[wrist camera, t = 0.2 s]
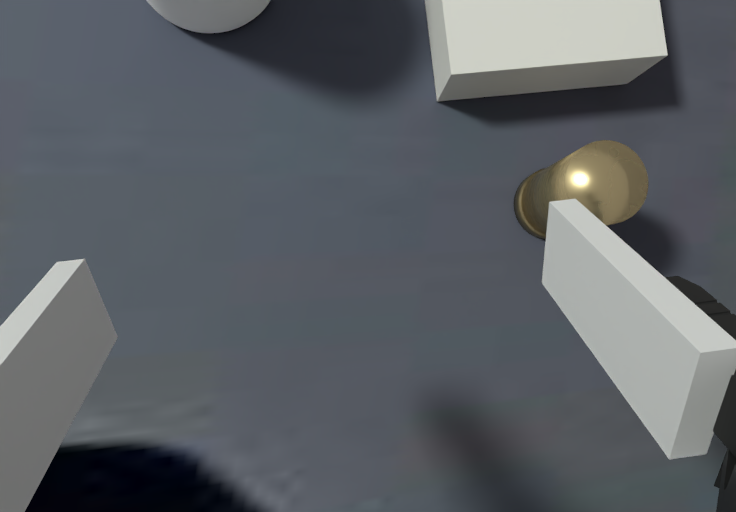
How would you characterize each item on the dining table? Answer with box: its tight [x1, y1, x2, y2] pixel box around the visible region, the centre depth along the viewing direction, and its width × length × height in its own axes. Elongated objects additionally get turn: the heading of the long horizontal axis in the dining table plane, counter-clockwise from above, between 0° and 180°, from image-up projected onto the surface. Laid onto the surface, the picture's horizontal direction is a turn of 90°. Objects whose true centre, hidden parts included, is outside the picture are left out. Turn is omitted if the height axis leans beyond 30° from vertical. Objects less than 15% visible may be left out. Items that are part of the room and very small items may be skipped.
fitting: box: [514, 140, 648, 239], centre depth 28 cm, size 4×4×7 cm
